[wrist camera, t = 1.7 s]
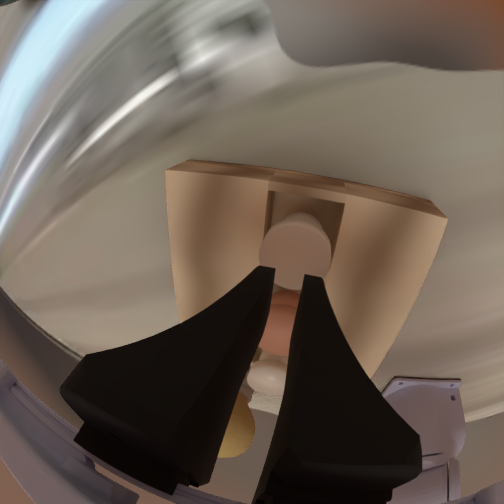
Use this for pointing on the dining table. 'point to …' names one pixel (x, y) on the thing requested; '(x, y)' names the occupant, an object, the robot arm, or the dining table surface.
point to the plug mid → (280, 323)
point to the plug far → (268, 374)
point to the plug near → (296, 250)
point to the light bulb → (239, 424)
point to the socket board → (333, 223)
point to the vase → (6, 2)
